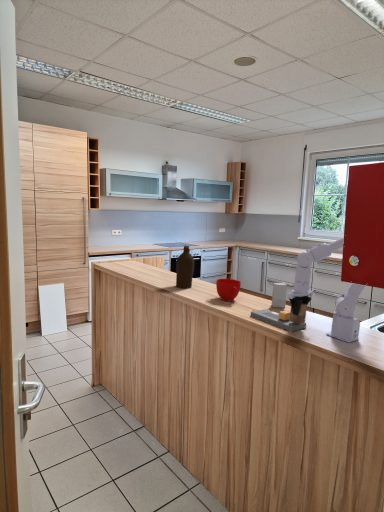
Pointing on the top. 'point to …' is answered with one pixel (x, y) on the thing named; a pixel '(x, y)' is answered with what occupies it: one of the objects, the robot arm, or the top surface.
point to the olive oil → (184, 269)
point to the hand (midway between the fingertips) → (298, 314)
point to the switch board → (276, 320)
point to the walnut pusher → (299, 315)
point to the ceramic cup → (228, 288)
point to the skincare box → (279, 295)
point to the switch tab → (284, 315)
